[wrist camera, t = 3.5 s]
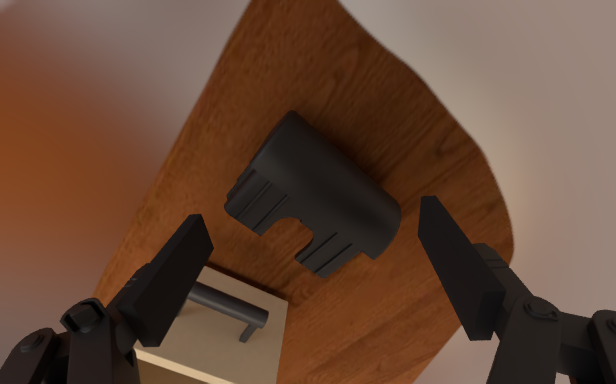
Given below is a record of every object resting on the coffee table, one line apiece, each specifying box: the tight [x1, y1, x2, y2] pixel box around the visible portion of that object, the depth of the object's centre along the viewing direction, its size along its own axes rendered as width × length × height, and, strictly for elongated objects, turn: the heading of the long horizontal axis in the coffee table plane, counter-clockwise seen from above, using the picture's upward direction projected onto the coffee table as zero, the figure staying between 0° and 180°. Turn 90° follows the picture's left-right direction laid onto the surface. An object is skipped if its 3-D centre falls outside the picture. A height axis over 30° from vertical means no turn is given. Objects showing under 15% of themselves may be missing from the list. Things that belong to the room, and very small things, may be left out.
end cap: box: [224, 110, 401, 279], centre depth 19 cm, size 10×7×7 cm
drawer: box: [133, 266, 288, 384], centre depth 25 cm, size 16×13×9 cm
